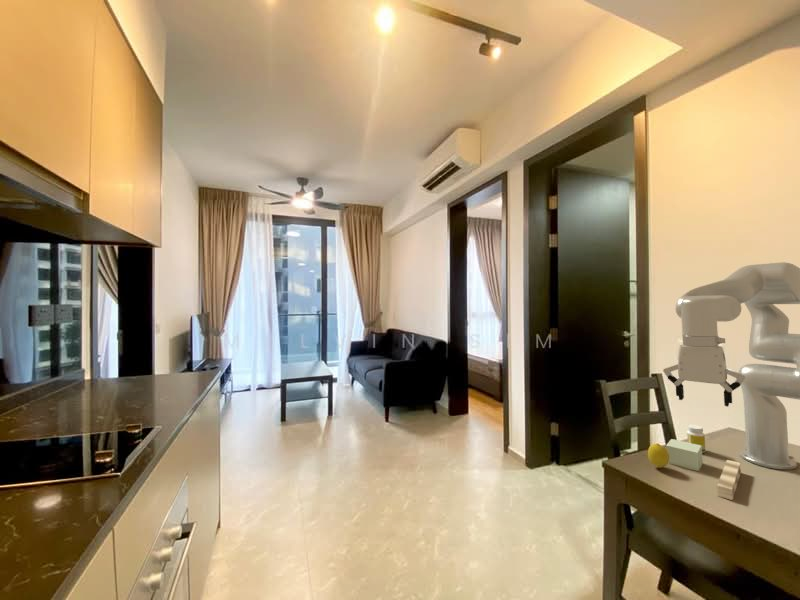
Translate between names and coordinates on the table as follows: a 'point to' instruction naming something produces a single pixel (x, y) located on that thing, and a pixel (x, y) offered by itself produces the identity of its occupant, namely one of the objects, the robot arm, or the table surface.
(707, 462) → the table surface
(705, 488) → the table surface
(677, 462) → the block
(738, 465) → the beige wavy bar
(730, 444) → the table surface
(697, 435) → the supplement bottle
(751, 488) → the table surface
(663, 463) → the lemon
